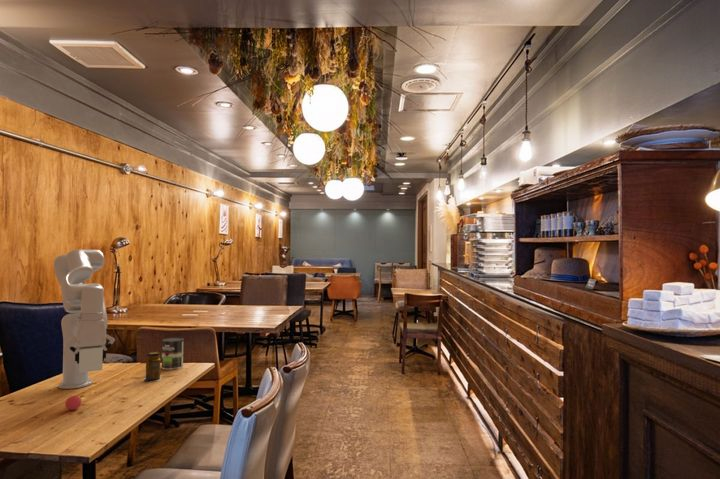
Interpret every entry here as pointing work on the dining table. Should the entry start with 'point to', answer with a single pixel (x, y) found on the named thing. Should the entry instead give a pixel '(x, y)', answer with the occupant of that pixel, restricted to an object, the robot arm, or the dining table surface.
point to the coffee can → (172, 353)
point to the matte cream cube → (90, 359)
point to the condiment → (153, 367)
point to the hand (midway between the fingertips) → (90, 361)
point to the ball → (73, 402)
